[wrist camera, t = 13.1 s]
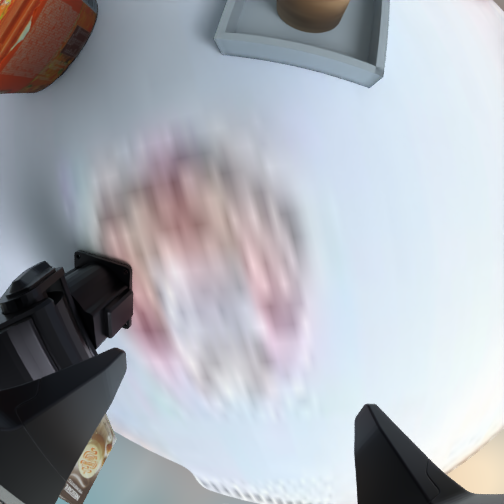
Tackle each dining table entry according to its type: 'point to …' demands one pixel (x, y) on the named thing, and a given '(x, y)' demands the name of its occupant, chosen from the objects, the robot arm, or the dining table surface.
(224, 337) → the dining table surface
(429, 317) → the dining table surface
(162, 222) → the dining table surface
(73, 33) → the food container
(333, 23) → the walnut cylinder
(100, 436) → the coffee box
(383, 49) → the bin
